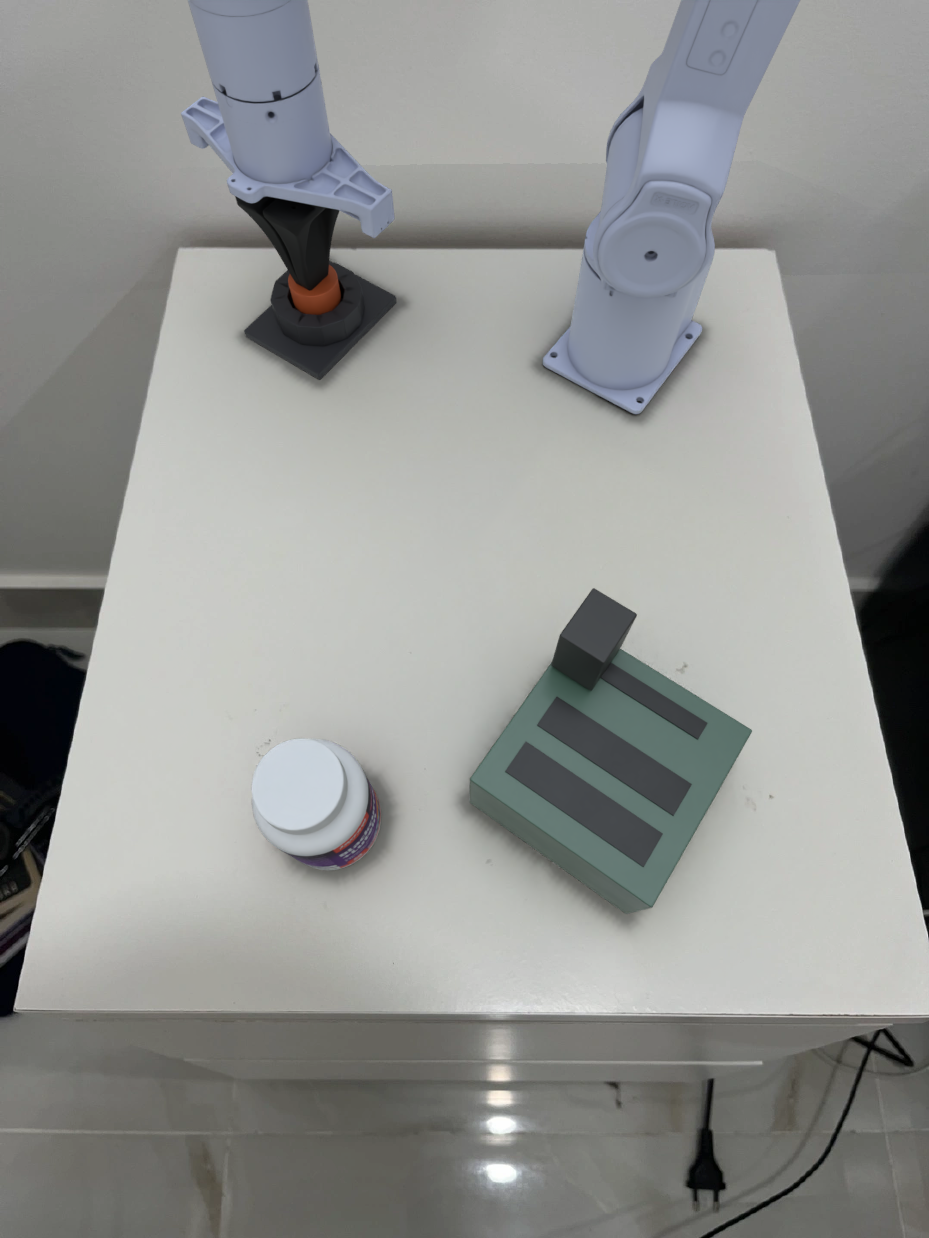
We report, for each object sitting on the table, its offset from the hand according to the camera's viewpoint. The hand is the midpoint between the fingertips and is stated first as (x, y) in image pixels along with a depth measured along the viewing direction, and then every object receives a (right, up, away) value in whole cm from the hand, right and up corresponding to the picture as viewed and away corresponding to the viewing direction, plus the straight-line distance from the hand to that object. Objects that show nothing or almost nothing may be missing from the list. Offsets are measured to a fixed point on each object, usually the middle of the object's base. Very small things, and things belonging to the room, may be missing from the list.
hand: (312, 278), depth 53 cm
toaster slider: (+17, -25, -14) cm, 33 cm away
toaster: (+18, -33, -10) cm, 38 cm away
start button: (0, -1, +2) cm, 2 cm away
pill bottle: (+3, -35, -11) cm, 36 cm away
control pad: (0, -2, +3) cm, 4 cm away
